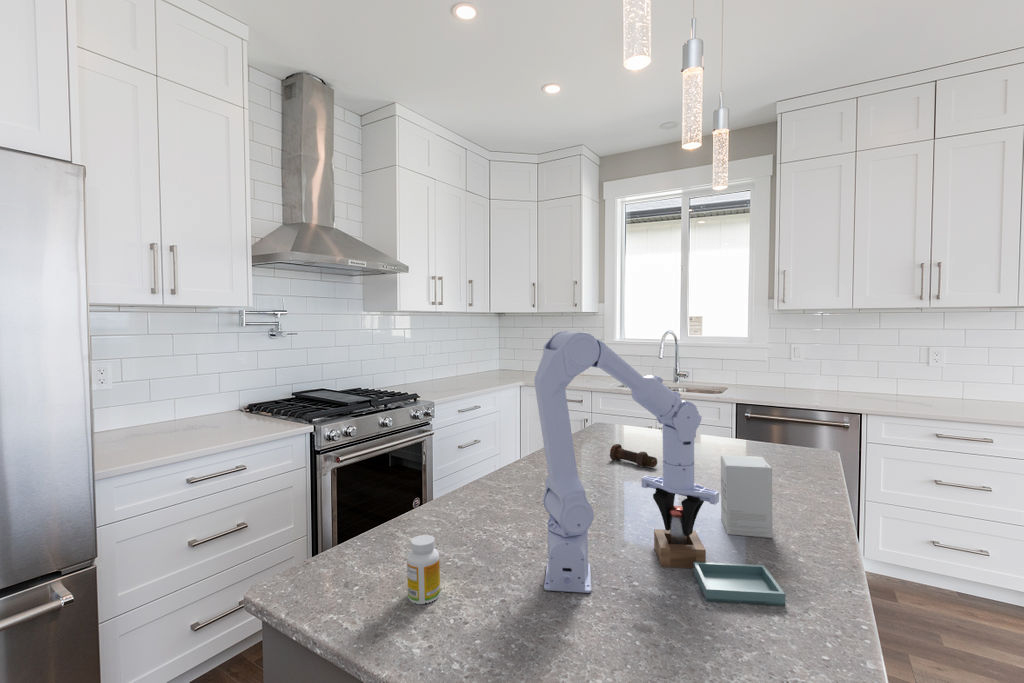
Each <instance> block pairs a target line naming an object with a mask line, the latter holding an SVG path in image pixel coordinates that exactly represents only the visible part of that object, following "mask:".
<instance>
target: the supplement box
mask: <svg viewBox="0 0 1024 683" xmlns="http://www.w3.org/2000/svg"><path fill="white" fill-rule="evenodd" d="M773 514H774V513H773V468H772V466H771V465H769V463H768V462H767V461H766V459H765V458H764V457H763V456H755V455H754V456H751V455H750V456H748V455H727V454H721V455H720V518H721V521H722V524H723V527H724V529H725V531H726V534H727V535H731V536H732V535H733V536H734V535H735V536H744V537H756V538H767V539H773V538H774V533H773V531H774V530H773V529H774V528H773V527H774V526H773V524H774V523H773V520H774V519H773V518H774V517H773Z"/></svg>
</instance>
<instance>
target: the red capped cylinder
mask: <svg viewBox="0 0 1024 683" xmlns="http://www.w3.org/2000/svg"><path fill="white" fill-rule="evenodd" d="M669 514H670V544H680V545H687V536H685V535H684V514H683V508H682V505H674V506H670V507H669Z"/></svg>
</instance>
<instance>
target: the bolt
mask: <svg viewBox="0 0 1024 683" xmlns="http://www.w3.org/2000/svg"><path fill="white" fill-rule="evenodd" d="M609 456H610V457H609V458H610V460H617V461H619V460H618V459H620V460H623V461H628V462H631V463H634V464H636V465H637V467H639V466H645V467H649V468H655V467H656V466H657V465H658V459H657V457H655V456H651V455H649V454H648V453H647V451H639V452H635V451H632V450H627V449H624V448H623V447H622V445H621V444H619V443H616V444H613V445H612V446H611V448H610V450H609Z"/></svg>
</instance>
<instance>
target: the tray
mask: <svg viewBox="0 0 1024 683" xmlns="http://www.w3.org/2000/svg"><path fill="white" fill-rule="evenodd" d="M692 569H693V574H694V577H695V579H696V581H697V584H698V586H699V588H700V590H701V592H702V594H703V597H704V599H705V601H706V602H710V603H711V602H713V603H727V604H728V603H729V604H746V605H747V604H749V605H762V606H778V607H779V606H780V607H786V593H785V592H784V590H783V588H781V586H780V584H778V582H777V581H776V580H775V578H774V577H773V576H772V574H771V573H770V571H769V570H768V569H767V567H766V565H764V564H747V563H746V564H744V563H727V562H726V563H725V562H707V561H706V562H693V568H692Z"/></svg>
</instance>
